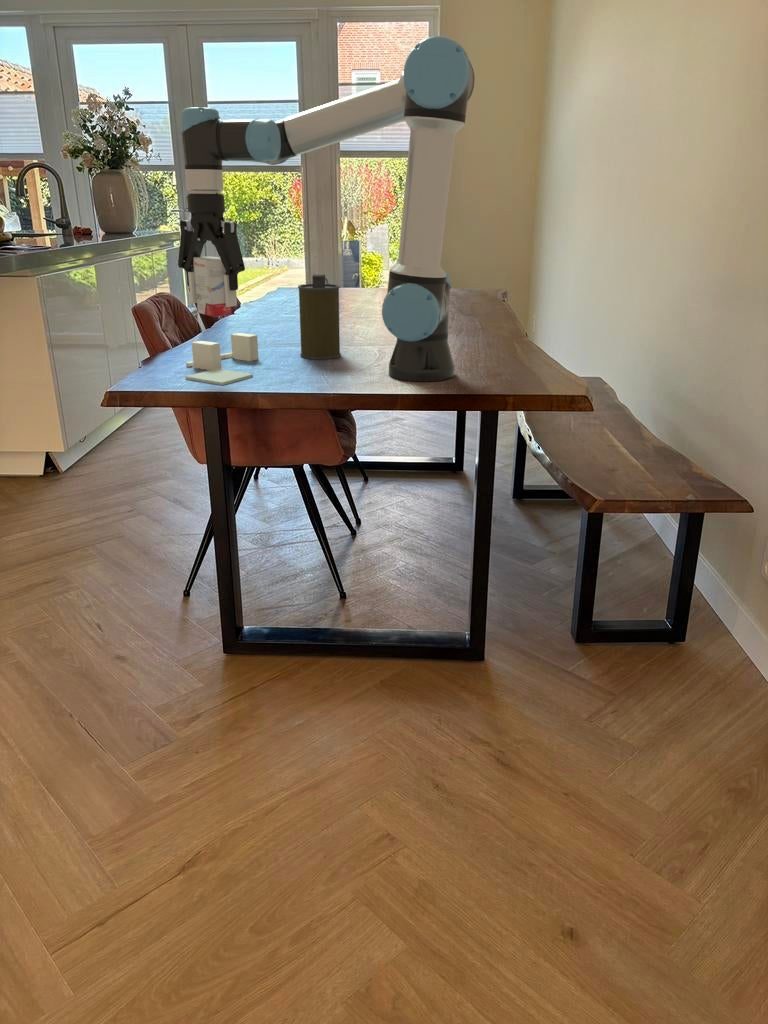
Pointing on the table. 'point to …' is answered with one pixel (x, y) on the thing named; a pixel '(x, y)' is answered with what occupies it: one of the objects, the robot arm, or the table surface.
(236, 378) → the mat
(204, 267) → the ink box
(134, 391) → the table surface
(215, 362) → the holder
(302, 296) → the canister
